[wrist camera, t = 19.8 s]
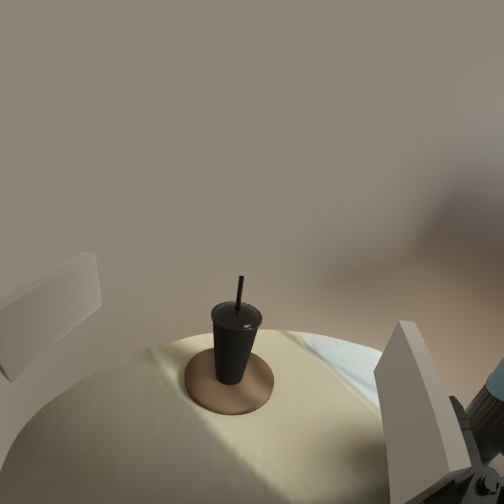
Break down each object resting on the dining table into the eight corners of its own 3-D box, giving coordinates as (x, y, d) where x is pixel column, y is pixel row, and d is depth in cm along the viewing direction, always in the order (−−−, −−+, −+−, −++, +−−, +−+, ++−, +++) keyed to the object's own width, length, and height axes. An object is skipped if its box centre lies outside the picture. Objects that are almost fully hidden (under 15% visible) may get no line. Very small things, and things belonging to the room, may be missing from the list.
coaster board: (243, 344, 56) (243, 339, 55) (290, 394, 44) (292, 389, 43) (172, 363, 47) (171, 358, 46) (210, 428, 35) (210, 423, 34)
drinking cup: (220, 397, 40) (230, 294, 33) (200, 367, 46) (205, 268, 39) (258, 383, 44) (280, 285, 37) (237, 357, 50) (250, 262, 43)
